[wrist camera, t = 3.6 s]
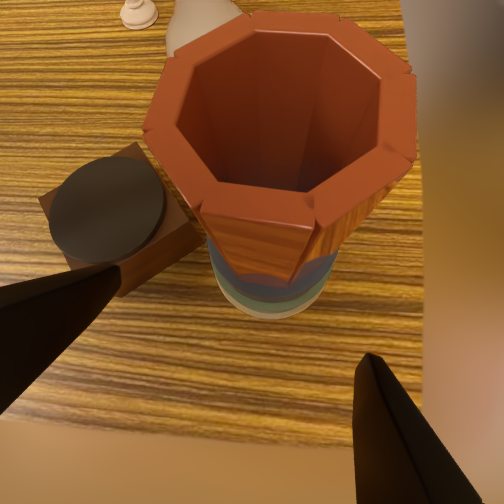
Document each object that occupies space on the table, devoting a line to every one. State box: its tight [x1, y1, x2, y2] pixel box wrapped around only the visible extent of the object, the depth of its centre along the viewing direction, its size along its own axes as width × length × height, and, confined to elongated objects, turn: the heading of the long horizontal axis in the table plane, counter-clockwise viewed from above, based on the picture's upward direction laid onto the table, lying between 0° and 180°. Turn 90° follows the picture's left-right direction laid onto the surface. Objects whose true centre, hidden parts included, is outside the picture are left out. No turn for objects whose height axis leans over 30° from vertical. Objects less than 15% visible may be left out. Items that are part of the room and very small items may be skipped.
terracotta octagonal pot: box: [142, 10, 417, 289], centre depth 9 cm, size 6×6×8 cm
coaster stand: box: [38, 142, 205, 298], centre depth 21 cm, size 9×9×6 cm
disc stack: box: [207, 235, 339, 320], centre depth 17 cm, size 9×9×9 cm
